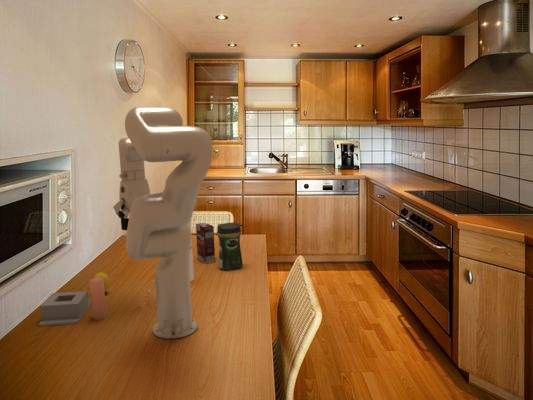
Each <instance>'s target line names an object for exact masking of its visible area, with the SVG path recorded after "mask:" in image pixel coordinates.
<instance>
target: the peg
mask: <svg viewBox="0 0 533 400" xmlns="http://www.w3.org/2000/svg"><path fill="white" fill-rule="evenodd" d="M89 289H90V290H89V291H90V301H91V313H92V319H93V320H94V321H95V320H97V321H99V320H103V318H104V319H105V318H107V316H108V315H107V306H106V304H107V303H106V295H105V293H106V291H105V292H104V280H103V278H94V277H93V278H91V279H89Z"/></svg>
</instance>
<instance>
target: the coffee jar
mask: <svg viewBox="0 0 533 400" xmlns="http://www.w3.org/2000/svg"><path fill="white" fill-rule="evenodd" d="M216 236H217V238H218V243H219V249H218V267H219V269H220V270H223V271H231V270H237V269H241V268H242V267H243V266H244V265H243V256H242V249H241V243H240V242H241V240H240V239H241V236H242V229H241V225H240V223H238V222H236V221H235V222H226V223H219V224H217V229H216Z"/></svg>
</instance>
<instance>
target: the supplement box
mask: <svg viewBox="0 0 533 400" xmlns="http://www.w3.org/2000/svg"><path fill="white" fill-rule="evenodd" d="M195 235H196V251H197V252H196V253H197V255H196V256H197V260H199V261H201V262H202V263H205V264H211V263H215V262H216V253H215V252H216V251H215V250H216V249H215V228H214V225H212V224H210V223H207V222H199V223H195Z"/></svg>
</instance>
